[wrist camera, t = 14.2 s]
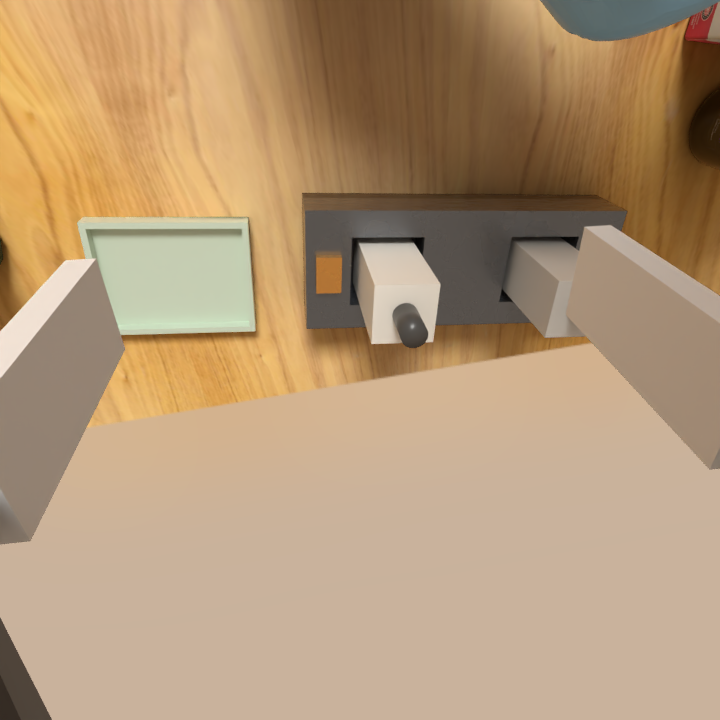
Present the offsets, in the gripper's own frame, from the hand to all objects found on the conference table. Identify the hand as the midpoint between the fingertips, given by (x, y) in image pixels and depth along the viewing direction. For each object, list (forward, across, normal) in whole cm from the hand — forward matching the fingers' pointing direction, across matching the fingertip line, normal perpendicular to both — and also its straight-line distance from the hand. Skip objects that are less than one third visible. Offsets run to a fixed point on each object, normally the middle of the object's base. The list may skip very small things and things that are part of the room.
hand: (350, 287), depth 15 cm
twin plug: (+30, +18, -12) cm, 37 cm away
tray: (+30, -13, -12) cm, 35 cm away
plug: (+29, +5, -11) cm, 32 cm away
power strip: (+31, +11, -12) cm, 35 cm away
